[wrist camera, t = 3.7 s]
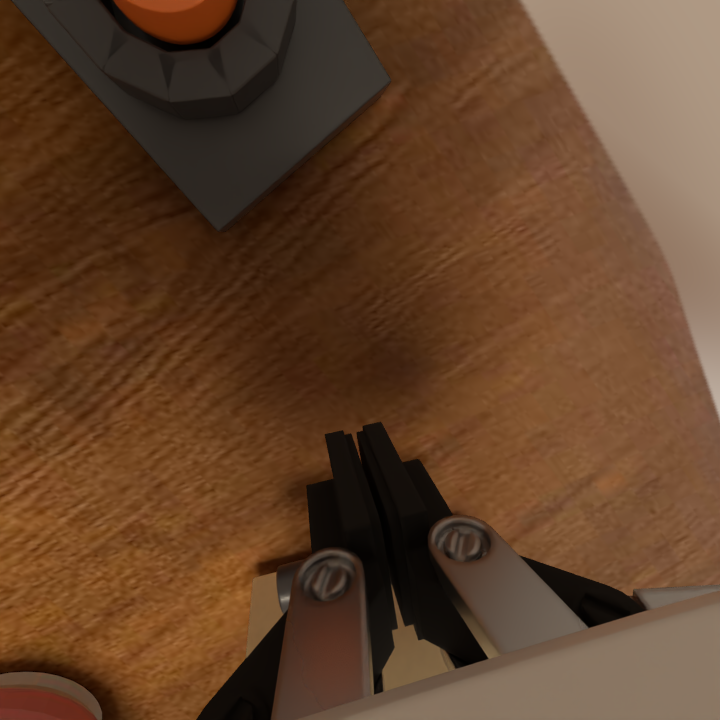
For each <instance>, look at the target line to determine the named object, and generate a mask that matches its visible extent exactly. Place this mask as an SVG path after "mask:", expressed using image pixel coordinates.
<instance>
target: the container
mask: <svg viewBox="0 0 720 720" xmlns="http://www.w3.org/2000/svg"><path fill="white" fill-rule="evenodd" d="M0 720H102V711H101V708H100V705H99V703H98V701H97V700H96V699H95V697H94V696H93V695H92V694H91V693H90V692H89V691H88V690H87V689H85V688H84V687H83V686H81V685H79V684H77V683H76V682H74V681H72V680H69V679H66V678H63V677H61V676H57V675H52V674H47V673H39V672H13V673H5V674H0Z"/></svg>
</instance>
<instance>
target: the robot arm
mask: <svg viewBox="0 0 720 720" xmlns="http://www.w3.org/2000/svg"><path fill="white" fill-rule="evenodd" d="M325 438H326V443H327V448H328V453H329V458H330V463H331V468H332V473H333V478H334V479H331V480H327V481H323V482H318V483H314V484H310V485H307V500H308V512H309V524H310V536H311V548H312V554H311V555H309V556H308V557H307V558H306V559H305V560H304V561H302V562H301V564H300V565H299V567H298V568H297V570H296V571H295V574H294V577H293V580H292V586H291V593H290V599H289V606H288V610H287V611H286V612H285V613H284V614H283V615H282V617H281V618H280V619H279V620H278V621H277V623H276V624H275V625H274V626H273V627H272V628H271V630H270V631H269V632H268V633H267V634H266V635H265V637H264V638H263V639H262V640H261V641H260V643H259V644H258V645H257V646H256V647H255V648H254V650H253V651H252V652H251V653H250V654H249V656H248V657H247V658H246V659H245V660H244V661H243V663H242V664H241V665H240V666H239V667H238V669H237V670H236V671H235V672H234V673H233V674H232V676H231V677H230V678H229V679H228V680H227V681H226V683H225V684H224V685H223V686H222V687H221V689H220V690H219V691H218V692H217V693H216V694H215V696H214V697H213V698H212V699H211V700H210V702H209V703H208V704H207V705H206V706H205V708H204V709H203V711H202V712H201V714H200V715H199V716H198V718H197V719H196V720H720V585H705V586H686V587H667V588H648V589H633V596H627V595H626V594H624V593H623V592H621V591H619V590H617V589H614V588H612V587H610V586H607V585H605V584H602V583H599V582H596V581H593V580H590V579H587V578H584V577H581V576H578V575H575V574H572V573H569V572H567V571H564V570H561V569H558V568H555V567H552V566H549V565H546V564H543V563H540V562H537V561H534V560H531V559H529V558H526V557H523V556H520V555H518V554H517V553H516V552H515V551H514V550H513V549H512V548H511V547H510V546H509V545H508V544H507V543H506V542H505V541H504V540H503V539H502V538H501V536H500V535H499V534H498V533H497V532H496V531H495V530H494V529H493V528H492V527H491V526H489V525H488V524H487V523H485V522H484V521H482V520H480V519H478V518H475V517H472V516H466V515H453V514H452V512H451V511H450V509H449V507H448V506H447V504H446V502H445V501H444V499H443V497H442V496H441V494H440V492H439V491H438V489H437V488H436V486H435V484H434V483H433V481H432V479H431V478H430V476H429V474H428V473H427V471H426V469H425V468H424V466H423V464H422V463H421V461H420V460H419V459H415V460H411V461H407V462H403V463H402V461H401V459H400V457H399V455H398V453H397V451H396V450H395V448H394V446H393V444H392V442H391V440H390V438H389V436H388V434H387V432H386V430H385V428H384V426H383V424H382V423H381V422H378V423H373V424H369V425H364V426H363V431H360V432H357V439H358V445H359V451H360V457H361V461H360V458H359V455H358V452H357V449H356V446H355V443H354V440H353V437H352V434H347V435H344V432H343V430H342V431H337V432H333V433H328V434H325ZM361 462H362V464H361ZM390 580H391V581H390ZM391 584H392V587H393V590H394V593H395V597H396V600H397V603H398V606H399V610H400V613H401V616H402V619H403V623H404V625H405V627H406V626H409V625H413V626H414V629H415V632H416V635H417V638H418V641H419V640H422V639H424V640H426V641H428V642H430V643H432V644H434V645H436V646H438V647H439V648H440V653H441V655H442V658H443V661H444V663H445V665H446V667H447V669H448V670H449V671H448V672H445V673H442V674H439V675H435V676H432V677H429V678H426V679H423V680H419V681H416V682H413V683H410V684H407V685H403V686H400V687H397V688H394V689H391V690H388V691H385V681H384V675H383V668H384V666H385V665H386V663H387V661H388V659H389V657H390V655H391V654H392V652H393V650H394V648H395V646H394V640H393V634H392V630H396V629H398V624H397V618H396V612H395V606H394V600H393V593H392V587H391Z"/></svg>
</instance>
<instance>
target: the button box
mask: <svg viewBox="0 0 720 720" xmlns="http://www.w3.org/2000/svg"><path fill="white" fill-rule="evenodd" d="M11 1H12V2H13V3H14V4H15V5H16V7H17V8H18V9H19V10H20V11H21V12H22V13H23V14H24V16H25V17H26V18H27V19H28V20H29V21H30V22H31V23H32V24H33V26H34V27H35V28H36V29H37V30H38V31H39V32H40V33H41V35H42V36H43V37H44V38H45V39H46V40H47V41H48V42H49V43H50V45H51V46H52V47H53V48H54V49H55V50H56V51H57V52H58V54H59V55H60V56H61V57H62V58H63V59H64V60H65V61H66V63H67V64H68V65H69V66H70V67H71V68H72V69H73V70H74V71H75V73H76V74H77V75H78V76H79V77H80V78H81V79H82V80H83V82H84V83H85V84H86V85H87V86H88V87H89V88H90V89H91V90H92V92H93V93H94V94H95V95H96V96H97V97H98V98H99V99H100V101H101V102H102V103H103V104H104V105H105V106H106V107H107V108H108V110H109V111H110V112H111V113H112V114H113V115H114V116H115V117H116V118H117V120H118V121H119V122H120V123H121V124H122V125H123V126H124V127H125V129H126V130H127V131H128V132H129V133H130V134H131V135H132V136H133V137H134V139H135V140H136V141H137V142H138V143H139V144H140V145H141V146H142V148H143V149H144V150H145V151H146V152H147V153H148V154H149V155H150V157H151V158H152V159H153V160H154V161H155V162H156V163H157V164H158V165H159V167H160V168H161V169H162V170H163V171H164V172H165V173H166V174H167V176H168V177H169V178H170V179H171V180H172V181H173V182H174V183H175V185H176V186H177V187H178V188H179V189H180V190H181V191H182V192H183V193H184V195H185V196H186V197H187V198H188V199H189V200H190V201H191V202H192V204H193V205H194V206H195V207H196V208H197V209H198V210H199V211H200V212H201V214H202V215H203V216H204V217H205V218H206V219H207V220H208V221H209V223H210V224H211V225H212V226H213V227H214V228H215V229H216V230H217V231H219V232H226V231H227V230H228V229H229V228H230V227H232V226H233V225H234V224H235V223H236V222H237V221H239V220H240V219H241V218H242V217H243V216H244V215H245V214H247V213H248V212H249V211H250V210H251V209H252V208H253V207H255V206H256V205H257V204H258V203H259V202H260V201H262V200H263V199H264V198H265V197H266V196H267V195H268V194H270V193H271V192H272V191H273V190H274V189H275V188H276V187H278V186H279V185H280V184H281V183H282V182H283V181H285V180H286V179H287V178H288V177H289V176H290V175H291V174H293V173H294V172H295V171H296V170H297V169H298V168H300V167H301V166H302V165H303V164H304V163H305V162H306V161H308V160H309V159H310V158H311V157H312V156H313V155H314V154H316V153H317V152H318V151H319V150H320V149H321V148H323V147H324V146H325V145H326V144H327V143H328V142H329V141H331V140H332V139H333V138H334V137H335V136H336V135H337V134H339V133H340V132H341V131H342V130H343V129H344V128H346V127H347V126H348V125H349V124H350V123H351V122H352V121H354V120H355V119H356V118H357V117H358V116H359V115H360V114H362V113H363V112H364V111H365V110H366V109H367V108H369V107H370V106H371V105H372V104H373V103H374V102H375V101H377V100H378V99H379V98H380V97H381V95H382V94H383V93H384V91H385V90H386V88H387V87H388V85H389V84H390V82H391V79H390V77H389V75H388V74H387V72H386V71H385V69H384V67H383V66H382V64H381V62H380V61H379V59H378V57H377V56H376V54H375V52H374V51H373V49H372V47H371V46H370V44H369V43H368V41H367V39H366V38H365V36H364V34H363V33H362V31H361V29H360V28H359V26H358V24H357V23H356V21H355V19H354V18H353V16H352V15H351V13H350V11H349V10H348V8H347V6H346V5H345V3H344V1H343V0H237V3H236V6H235V9H234V12H233V14H232V16H231V18H230V19H229V21H228V22H227V24H226V25H225V26H224V27H223V28H222V29H221V30H220V31H219V32H218V33H217V34H215V35H214V36H213V37H211V38H209V39H207V40H205V41H202V42H199V43H195V44H189V45H180V44H172V43H168V42H165V41H161V40H159V39H157V38H154V37H152V36H151V35H149V34H147V33H145V32H144V31H142V30H141V29H140V28H138V27H137V26H136V25H134V24H133V23H132V22H131V21H130V20H129V19H128V18H127V17H126V16H125V15H124V14H123V13H122V11H121V10H120V9H119V8H118V6H117V5H116V4H115V2H114V1H113V0H11Z"/></svg>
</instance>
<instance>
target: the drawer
mask: <svg viewBox="0 0 720 720" xmlns="http://www.w3.org/2000/svg"><path fill="white" fill-rule="evenodd" d="M304 560H305V559H303V560H299V561H295V562H291V563H287V564H284V565H280V566H278V567H277V572H274V573H270V574H266V575H263V576H259V577H255V578H253V584H252V595H251V606H250V617H249V628H248V639H247V650H246V658H247V657H248V656H249V654H250V653H251V652H252V651H253V650H254V648H255V647H256V646H257V645H258V644H259V643H260V641H261V640H262V639H263V638H264V637H265V635H266V634H267V633H268V632H269V631H270V630H271V628H272V627H273V626H274V625H275V624H276V623H277V621H278V620H279V619H280V618H281V617H282V615H283V614H284V613H285V612H286V611H287V610H288V606H289V599H290V593H291V586H292V580H293V577H294V574H295V571H296V570H297V568H298V567H299V565H300V564H301V562H302V561H304ZM390 581H391V580H390ZM391 587H392V584H391ZM392 593H393V600H394V606H395V612H396V618H397V624H398V629H396V630H392V634H393V640H394V646H395V648H394V650H393V652H392V654H391V655H390V657H389V659H388V661H387V663H386V665H385V666H384V668H383V675H384V681H385V691H388V690H391V689H394V688H397V687H400V686H403V685H407V684H410V683H413V682H416V681H419V680H423V679H426V678H429V677H432V676H435V675H439V674H442V673H445V672H448V671H449V670H448V669H447V667H446V665H445V663H444V661H443V658H442V655H441V653H440V648H439V647H438V646H436V645H434V644H432V643H430V642H428V641H426V640H424V639H422V640H419V641H418V638H417V635H416V632H415V629H414V626H413V625H409V626H406V627H405V625H404V623H403V619H402V616H401V613H400V610H399V606H398V603H397V600H396V597H395V593H394V590H393V587H392Z"/></svg>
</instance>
